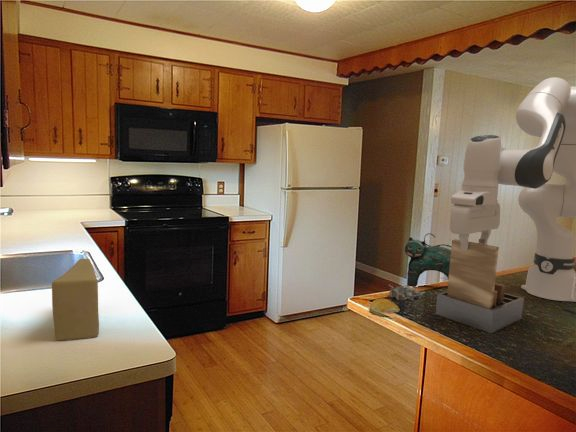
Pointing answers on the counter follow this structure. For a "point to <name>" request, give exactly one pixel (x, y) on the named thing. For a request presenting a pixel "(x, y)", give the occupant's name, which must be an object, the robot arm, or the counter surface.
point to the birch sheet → (473, 273)
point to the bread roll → (383, 307)
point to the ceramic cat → (426, 259)
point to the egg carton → (406, 290)
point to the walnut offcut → (499, 291)
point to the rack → (481, 312)
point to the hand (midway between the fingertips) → (473, 247)
